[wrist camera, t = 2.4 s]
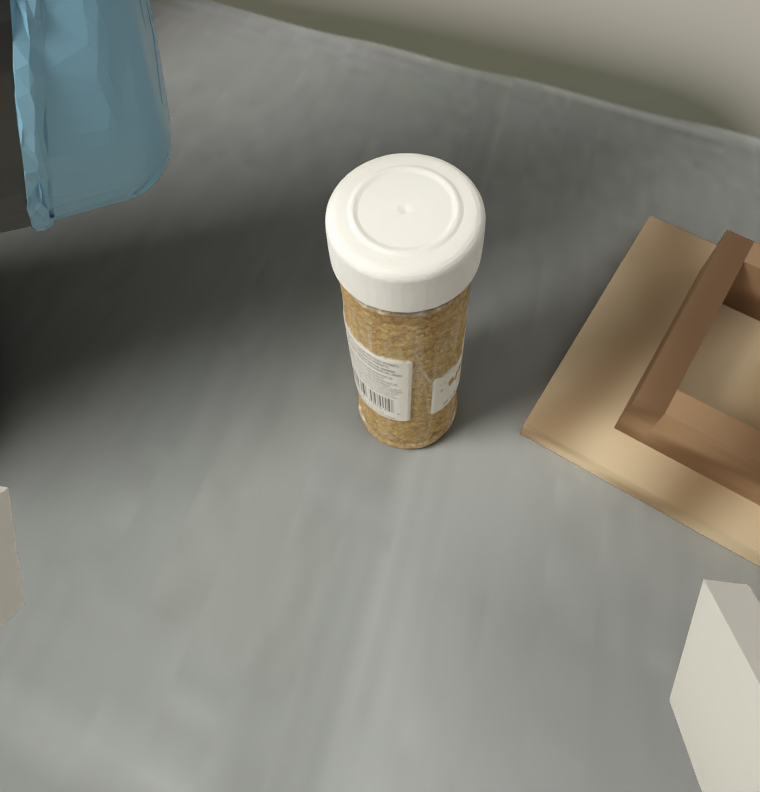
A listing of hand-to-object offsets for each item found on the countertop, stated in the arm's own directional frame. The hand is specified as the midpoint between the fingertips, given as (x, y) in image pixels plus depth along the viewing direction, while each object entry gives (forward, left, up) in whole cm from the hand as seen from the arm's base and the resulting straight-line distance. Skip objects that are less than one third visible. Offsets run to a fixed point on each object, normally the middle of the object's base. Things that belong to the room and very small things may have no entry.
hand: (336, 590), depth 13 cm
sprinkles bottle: (-5, +10, -15) cm, 19 cm away
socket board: (+8, +18, -15) cm, 25 cm away
